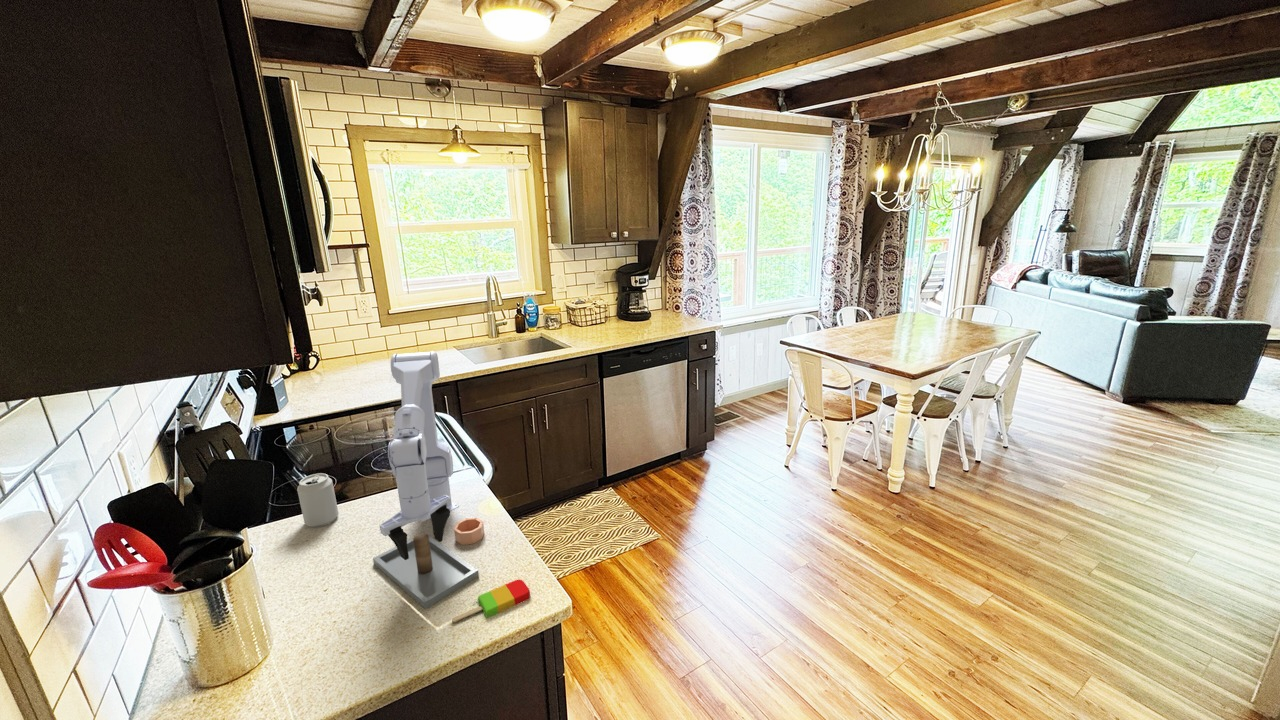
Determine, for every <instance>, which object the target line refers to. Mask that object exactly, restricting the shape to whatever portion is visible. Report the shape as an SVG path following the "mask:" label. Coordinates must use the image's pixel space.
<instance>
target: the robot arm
mask: <svg viewBox="0 0 1280 720" xmlns="http://www.w3.org/2000/svg"><path fill="white" fill-rule="evenodd" d="M439 364H440V363H439V356H438V354H437V352H436V351H435V350H431V351H421V352H419V351H418V352H408V353H393V354H392V355H391V357H390V372H391V376H392V378H393V379H394V381H395V382H396V384H399V385H400V390H401V391H400V393H401V394H400V395H401V397H400V398H401V407H399V408H397V410H396V412H395V413H394V425H393V427H394V428H393V437H392V441H389V443H388V446H387V457H388V461H389V465H390V468H391V471H392V475H393V477H395V481H396V486H397V487H396V488H397V493H398V499H399V505H400V511H399V512H397V513H396V514H395V515H393V516H391V517H390V518H389V519H387V520H385V521H384V522H382V523H380V524H379V531H380V534H382V535H383V536H384V537H387V536H388V537H389V538H390V539H391V541H392V542H393V544H394V545H395V547H397V549H398V551H399V553H400V556H401V557H402V558H403V559H404V560H407V559H409V554H408V549H407V541H408V533H407V532H405V531H404V528H402V527H404V526H406V525H408V524H412V523H416V522H424V521H427V520H431V525H432V532H433V533H432V534H433V537H434V538H433V539H434V540H436V541H437V542H439V543H442V542H443V539H444V533H445V528H446V524H447V521H448V520H449V517H450V516H451V511H453V510H455V509H457V508H459V507H460V505H459V504H457V503H455V502H453V501H452V494H451V489H450V487H451V486H450V479H449V478H451V477H452V476H453V474H454V462H453V461H454V460H453V455H452V451H451V448H450V446H449V445H447V444H445V443H443V442H440V441H439V440H438V432H437V430H438V429H437V425H436V424H437V423H436V415H435V413H436V412H435V406H434V398H433V391H432V387H433V383H434V382H436V381H438V380H440V377H441V375H440V365H439Z"/></svg>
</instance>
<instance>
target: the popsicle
mask: <svg viewBox="0 0 1280 720" xmlns="http://www.w3.org/2000/svg"><path fill="white" fill-rule="evenodd" d="M530 597H531V591H530V588H528V586H527V584H526V583H525V581H524V580H522V579H515V580H512V581H511V582H508V583H506V584H503V585H501V586H498V587H496V588H494V589H491V590H489V591H486V592H484V593H482V594H480V595H478V597H477V601H478V604H479V605H478V607H476V608H475V607H474V608H473V609H471V610H468V611H466V612H463V613H461V614H459V615H457V616H454V617H453V618H451V622H452V623H456V622H458V621H460V620H463V619H465V618H468V617H469V616H472V615H474V614H476V613H478V612H481V611H483V613H484V616H485V617H486V618H487V619H488V618H491V617H493V616H495V615H497V614H500V613H502V612H504V611H507V610H508V609H510V608H512V607H515V606H517V605H519V604H522V603H524V602H526V601H528V600H529V599H530ZM523 601H524V602H523ZM521 602H522V603H521Z"/></svg>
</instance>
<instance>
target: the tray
mask: <svg viewBox="0 0 1280 720" xmlns="http://www.w3.org/2000/svg"><path fill="white" fill-rule="evenodd" d="M423 533H425V534H427V533H426V532H422V533H421V534H423ZM428 537H429V544H430V551H431V558H432V565H433V569H432V571H431V572H429V573H427V574H419V573H418V569H417V562H416V556H415V549H414V543H413V538H414V537H413V538H411V539H407V549H408V554H409V559H407V560H404V559H403V558H402V557H401V556H400V553H399V551H398V549H397V547H396V546H395V547H393V548H390V549H389V550H386V551H384V552H383V553H380V554H379V555H376V556H375V557H373V558H372V562H373V565H374V566H376V568H378V569H379V570H380V571H381V572H382V573H383V574H384V575H386V577H388V578H389V579H390V580H391V581H392V582H393V583H395V584H396V585H397V586H398V587H399V588H400V589H401V590H403V591H404V592H405V593H406V594H407V595H409V596H410V597H411V598H412V599H413V600H414V601H416V602H417V604H418V605H420V606H421V607H422V608H423V609H425V610H427V609H428V608H431V607H432V606H433V605H435V604H437V603H438V602H440V601H442V600H443V599H445V598H446V597H448V596H450V595H451V594H452V593H455V592H456V591H458V590H459V589H461V588H462V587H464V586H466V585H467V584H470V583H471V582H472V581H474V580H475V579H477V578H478V577H480V574H479V570H478V569H477V568H476V567H475V566H473V565H471V564H470V563H468V562H467V561H466V560H464V559H463V558H461V557H460V556H459V555H457V554H455V552H453V551H451V550H450V549H448V548H447V547H446V546H445V545H443V544H441V542H439V541H437V540H436V539H435V538H433V537H431V536H430V535H428Z"/></svg>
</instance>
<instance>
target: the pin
mask: <svg viewBox="0 0 1280 720" xmlns="http://www.w3.org/2000/svg"><path fill="white" fill-rule="evenodd" d="M422 533H423V534H422ZM422 533H419V534H417V535H415V536H414V537H413V543H414V549H415V556H416V562H417V569H418V573H419V574H427V573H429V572H431V571H432V569H433V565H432V558H431V551H430V544H429V537H428V536H429V535H428V533H426V532H422ZM425 533H426V534H425Z"/></svg>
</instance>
